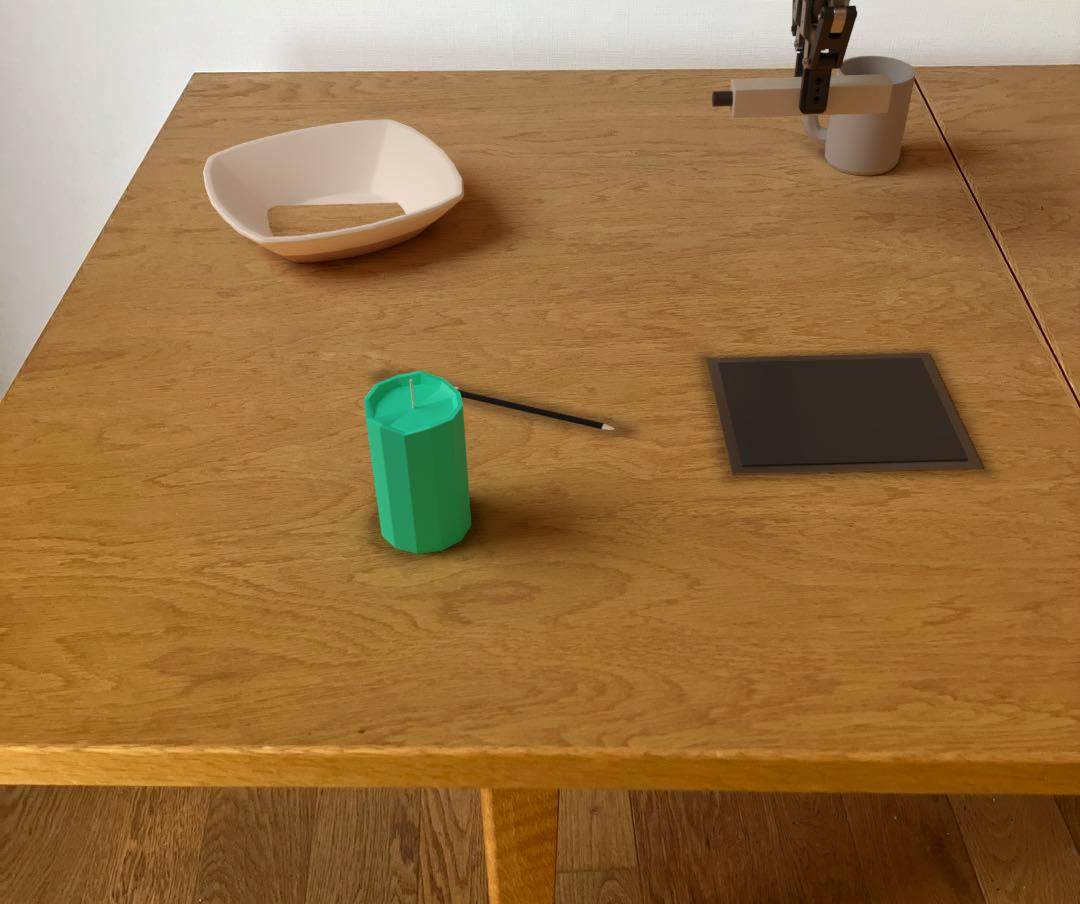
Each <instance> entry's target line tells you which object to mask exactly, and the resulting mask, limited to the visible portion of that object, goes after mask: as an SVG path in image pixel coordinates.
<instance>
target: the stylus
mask: <svg viewBox="0 0 1080 904" xmlns="http://www.w3.org/2000/svg"><path fill="white" fill-rule="evenodd" d="M801 81H802V77H794V76H785V77H756V78H755V77H753V78H731V80H730V89H729V90H719V91H718V90H715V91H712V93H711V106H712V107H713V108H717V107H729V111H730V113H731V116H732V118H733V119H743V118H775V117H777V118H779V117H802V116H809V115H818V116H830V115H839V114H870V113H888V109H889V104H890V98H891V92H892V86H893V85H892V83H891V81H890V80H889V78H888V77H887V75H886V74H872V75H842V76H836V75H835V76H831V80H830V87H829V94H828V101H827V108H826V110H825V112H823V113H821V114H803V113H801V111H800V109H799V99H800V91H801Z"/></svg>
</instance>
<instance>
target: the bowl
mask: <svg viewBox="0 0 1080 904" xmlns="http://www.w3.org/2000/svg"><path fill="white" fill-rule="evenodd" d="M459 171H460V170H459V169H458V167H457V166H456V164H455V163H454V161H453V160H452V159H451V158H450V156H449V155H448V154H447V152H446V151H445V150H443V149H442V147H440V146H439V145H438V144H436V143H435V142H434V141H433V140H431V139H430V138H428V137H427V136H426V135H424V134H423V133H422V132H419V131H418V130H417V129H415V128H414V127H411V126H409V125H407V124H404V123H401V122H399V121H397V120H395V119H390V118H387V119H386V118H385V119H363V120H362V119H361V120H351V121H345V122H336V123H329V124H324V125H316V126H312V127H305V128H300V129H299V128H298V129H294V130H290V131H286V132H283V133H278V134H273V135H269V136H264V137H260V138H257V139H253V140H250V141H246V142H243V143H239V144H236V145H233V146H230V147H228V148H225V149H222V150H221V151H218V152H215V153H213V154H211V155H209V156H208V158H207V159H206V161H205V165H204V168H203V172H202V175H203V180H204V182H203V183H204V186H205V191H206V193H207V196H208V198H209V201H210V204H211V205H212V207H213V208H214V209H215V211H216V212H217V213H218V214H219V216H220V217H221V218H222V219H223V220H224V221H225V222H226V223H227V224H228V225H229V226H230V227H231V228H233V229H234V230H235V231H236V232H237V233H238V234H239V235H242V236H243V237H244V238H247V239H248V240H251V241H252V242H254V243H256V244H258V245H259V246H261V247H263V248H265V249H267V250H269V251H271V252H273V253H274V254H277V255H279V256H280V257H282V258H284V259H286V260H288V261H290V262H293V263H297V264H307V263H320V262H327V261H335V260H343V259H347V258H353V257H357V256H363V255H366V254H370V253H374V252H377V251H380V250H385V249H387V248H390V247H393V246H396V245H399V244H401V243H404V242H407V241H409V240H411V239H413V238H415V237H417V236H418V235H420V234H421V233H422V232H423V231H424V230H426V229H427V228H428V227H429V226H431V225H432V224H433V223H434V222H436V221H437V220H438V219H440V218H441V217H443V215H444V214H446V213H447V212H448V211H450V210H451V209H452V208H453V207H454V206H456V205H457V204H458V203H459V202H460V201H461V200H463V199H464V197H465V192H464V191H465V189H464V188H465V186H464V184H465V183H464V178H463V177H462V175H461V173H460V172H459ZM361 204H363V205H365V204H398V205H399V206H400V207H401V209H402V210H403V212H404V213H405V214H402V215H398V216H394V217H391V218H386V219H384V220H379V221H375V222H371V223H367V224H361V225H357V226H352V227H347V228H341V229H336V230H331V231H323V232H316V233H315V232H314V233H308V234H302V235H284V236H282V235H281V236H274V234H273V232H272V229H271V228H270V222H269V217H268V213H269V210H270V209H272V208H274V207H279V206H280V207H281V206H282V207H283V206H316V205H317V206H319V205H320V206H321V205H323V206H324V205H325V206H326V205H361Z"/></svg>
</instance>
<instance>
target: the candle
mask: <svg viewBox="0 0 1080 904" xmlns="http://www.w3.org/2000/svg"><path fill="white" fill-rule="evenodd" d="M455 387H456V386H454V385H453V384H451V382H449V381H448V380H447V379H446V378H444V377H442V376H441V377H440V376H437V375H435V374H432V373H429V372H427V371H424V370H417V371H412V372H408V373H402V374H396V375H393V376H391V377H389V378H386V379H384V380H381V381H379V382H377V383H375V384H374V385H373V386H372V387H371V389H370V390H369V392H368V393H367V394H366V395H365V397H364V398H363V406H364V417H365V424H366V432H367V438H368V446H369V447H368V448H369V452H370V461H371V469H372V475H373V483H374V489H375V499H376V503H377V510H378V519H379V526H380V533H381V536H382V538H384V539H385V540H386V541H387V542H388V543H389V544H390V545H391V546H393V547H394V549H396V550H401V551H404V552H405V551H406V552H409V553H413V554H417V555H418V554H419V555H420V554H426V553H435V552H442V551H444V550H446V549H448V548H450V547H452V546H453V545H455V544H458V543H460V542H461V541H463V539H464V537H465V536H466V534H467V532H468V531H469V530H470V528H471V526H472V514H471V513H472V512H471V503H470V502H471V500H470V485H469V471H468V459H467V456H468V455H467V444H466V429H465V415H464V404H463V399H462V398H463V397H461V394H460V392H459V391H458V390H459V389H456V388H455Z"/></svg>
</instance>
